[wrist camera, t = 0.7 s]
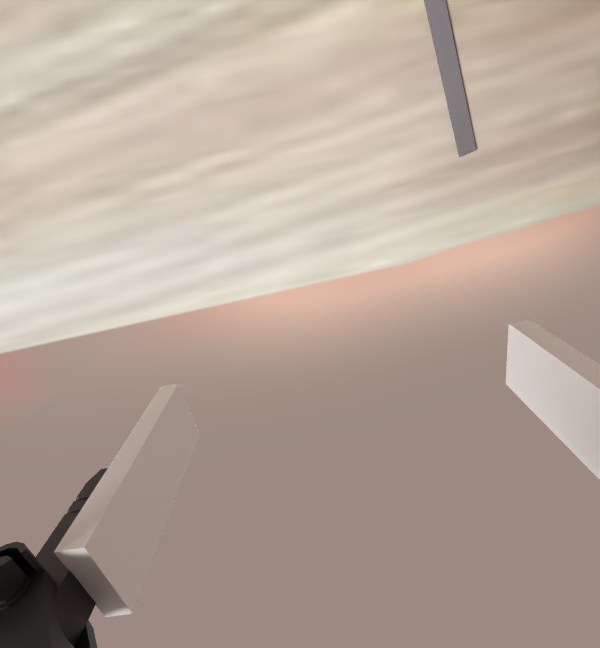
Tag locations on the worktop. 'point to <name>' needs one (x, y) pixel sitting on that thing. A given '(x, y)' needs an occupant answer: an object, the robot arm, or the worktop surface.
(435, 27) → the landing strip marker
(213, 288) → the worktop surface
